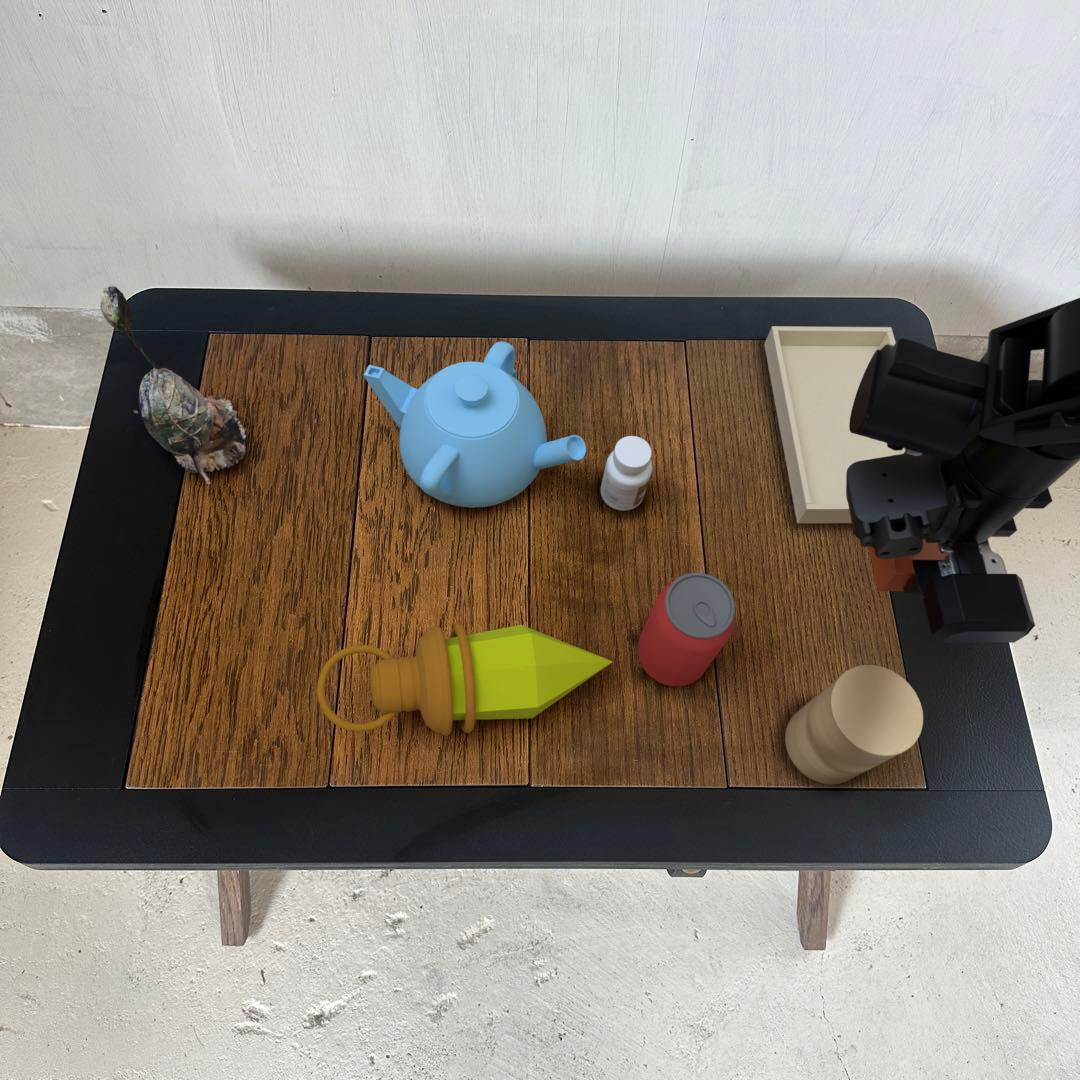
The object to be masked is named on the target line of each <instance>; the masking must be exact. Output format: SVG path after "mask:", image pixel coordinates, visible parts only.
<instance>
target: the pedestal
mask: <svg viewBox="0 0 1080 1080" xmlns="http://www.w3.org/2000/svg"><path fill="white" fill-rule="evenodd" d="M923 711H924V710H923V707H922V704H921V701H920V698H919V697H918V695H917V692H916V691H915V690H914V688H913V687H912V686H911V684H910V683H909V682H908V681H907V680H906V679H905V678H904V677H902V676H901V675H900V674H898V673H897V672H895V671H894V670H892V669H889V668H887V667H883V666H880V665H876V664H862V665H857V666H854V667H851V668H849V669H847V670H846V671H845V672H843V673H842V674H840V675H839V676H838V677H837V678H836V679H835V680H833V681H832V682H831V683H829V685H827V686H826V687H825V688H824V689H823V690H822V691H820V692H819V693H818V694H817V695H815V696H814V697H813V698H812V699H811V700H809V701H807V703H806V704H804V705H803V706H802V707H801V708H800V709H798V710H797V711H796V712H795V713H794V714H793V715H792V716H791V718H790V719H789V721H788V723H787V726H786V728H785V735H784V738H785V739H784V740H785V741H784V743H785V748H786V751H787V754H788V757H789V759H790V760H791V762H792V764H793V765H794V766H795V767H796V769H797V770H798V771H799V772H800V773H801V774H802V775H804V776H805V777H807V778H808V779H810V780H812V781H814V782H816V783H819V784H823V785H839V784H843V783H846V782H847V781H850V780H852V779H854V778H855V777H858V776H860V775H861V774H864V773H865V772H867V771H870V770H871V769H873V768H875V767H877V766H879V765H881V764H883V763H885V762H887V761H889V760H891V759H893V758H894V757H897V756H899V755H900V754H902V753H905V752H906V751H908V750H909V749H911V748H912V747H913V746H914V745H915V744H916V742H918V739H919V738H920V736H921V734H922V730H923V726H924V712H923Z"/></svg>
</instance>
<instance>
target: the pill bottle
mask: <svg viewBox="0 0 1080 1080" xmlns="http://www.w3.org/2000/svg"><path fill="white" fill-rule="evenodd" d="M651 458H652V448H651V445H650V444H649V443H648V441H646V440H645V439H644V438H642V437H639V436H637V435H628V436H627V435H626V436H623V437H622V438H620V439H619V440H617V442H616V444H615V446H614V449H613V450H612V452H610V453H609V455H608V457H607V459H606V462H605V466H604V471H603V476H602V479H601V484H600V496H601V497H602V501H604V503H605V504H606V505H607V506H609V507H610V508H612V509H613V510H616V511H621V512H623V511H624V512H625V511H631V510H633V509H636V508H637V507H638V506H640V504H641V503H642V502H643V501H644V498H645V495H646V492H647V489H648V486H649V482H650V479H651V476H652V474H653V473H652V472H653V463H652V460H651Z"/></svg>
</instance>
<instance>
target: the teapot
mask: <svg viewBox="0 0 1080 1080" xmlns="http://www.w3.org/2000/svg"><path fill="white" fill-rule="evenodd" d="M515 362H516V349H515V347H514V345H512V344H511V343H509V342H507V341H502V340H501V341H496V342H495V343H494V344H493V345H492V346H491V348H490V349H489V351H488V352H487V354H486V356H485V358H484V360H483V362H481V361H462V362H458V363H454V364H452V365H448V366H446V367H444V368H442V369H440V370H439V371H437V372H436V373H435V374H433V375H432V376H431V377H429V378H428V379H427V380H426V381H424V383H422V385H421V386H420V387H419V388H416V387H414V386H412V385H410V384H408V383H406V382H405V381H403V380H402V379H400V378H398V377H397V376H395V375H394V374H392V373H390V372H388V371H387V370H386V369H385V368H384V367H380V366H377V365H372V364H368V366H367V367H366V369H365V371H364V373H363V378H364V379H365V380H366V382H367V384H369V386H370V387H371V389H372V391H373V392H374V394H375V395H376V396H377V397H378V399H379V400H380V402H381V403H382V405H383V407H384V408H385V409H386V411H387V412H388V414H389V416H390V418H392V419H393V421H394V423H395V424H396V426H397V427H398V428H400V431H399V436H398V437H399V438H398V439H399V444H398V445H399V453H400V458H401V461H402V465H403V466H404V469H405V471H406V473H407V474H408V476H409V477H410V479H411V480H412V481H413V482H414V483H415V484H416V485H417V487H419V488H420V489H421V490H422V491H423V493H425V494H426V495H429V496H431V497H432V498H433V499H436V500H439V501H440V502H443V503H445V504H449V505H452V506H454V507H455V506H456V507H460V508H485V507H492V506H495V505H500V504H502V503H504V502H506V501H507V502H508V501H509V500H511V499H512V498H515V497H516V496H518V495H519V494H521V493H522V492H523V491H524V490H526V488H528V487H529V485H530V484H531V483H532V482H533V481H534V480H535V478H536V477H537V476H538V474H539V472H540V471H541V470H544V469H547V468H552V467H556V466H560V465H564V464H568V463H572V462H576V461H581V460H583V458H584V457H585V455H586V453H587V446H586V442H585V441H584V439H583V438H582V437H581V436H579V435H578V434H571V435H569V436H564V437H561V438H557V439H555V440H551V441H548V435H547V428H546V423H545V420H544V417H543V414H542V411H541V409H540V407H539V404H538V403H537V401H536V400H535V398H534V396H533V394H532V393H531V392H530V391H529V389H528V388H527V387H526V386H524V385H523V384H522V383H521V382H520V381H519V380H518V379H517V378H518V372H517V371H516V369H515Z"/></svg>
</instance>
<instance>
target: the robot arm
mask: <svg viewBox="0 0 1080 1080" xmlns="http://www.w3.org/2000/svg"><path fill="white" fill-rule="evenodd" d="M895 342H896V343H895V345H894V346H893V345H890V344H886V345H885V346H884V347H883V348H882V349H881V350H878V349H877V350H876V352H875V353H874V355H873V357H872V358H871V360H870V362H869V364H868V366H867V368H866V370H865V373H864V375H863V377H862V380H861V382H860V385H859V388H858V390H857V393H856V396H855V400H854V403H853V407H852V411H851V416H850V423H849V428H850V432H851V433H854V434H857V435H861V436H864V437H868V438H871V439H875V440H878V441H882V442H885V443H887V446H888V448H890V449H892V450H902V449H903V448H905V452H904V453H903V454H899V455H893V456H887V457H881V458H875V459H868V460H862V461H857V462H855V463H853V464H851V465H850V466H849V468H848V469H847V474H846V497H847V502H848V506H849V511H850V516H851V521H852V523H851V526H852V532H853V534H854V536H855V537H856V538H857V539H858V540H859V543H860V546H861V547H863V548H869V547H872V548H874V550H875V554H876V557H877V558H880V559H890V558H897V557H905V556H912V555H916V554H918V553H920V552H921V551H922V548H923V539H925V541H926V543H938V547H939V551H940V552H941V553H942V554H948V555H947V556H946V557H945V560H912V564H913V568H914V572H915V574H914V575H913V576H912V577H911V578H910V579H909V580H908V581H907V583H906V584H905V586H904V587H903V590H904V591H903V593H904V594H918V593H919V594H920V595H921V596H922V597H923V598H922V599H923V605H924V608H925V612H926V613H925V614H926V618H927V622H928V625H929V630H930V635H931V636H932V637H933V638H934V639H936V640H937V641H939V642H940V643H942V644H948V643H949V644H954V643H955V644H956V643H957V644H961V643H962V644H967V643H968V644H969V643H970V644H971V643H972V644H983V643H984V644H985V643H987V644H992V643H993V644H998V643H1001V644H1004V643H1005V644H1006V643H1009V644H1015V643H1016V642H1018V641H1020V640H1021V639H1023V638H1024V637H1026V636H1027V635H1029V634H1030V632H1031V631H1032V630H1033V629H1034V627H1036V623H1035V620H1034V616H1033V613H1032V610H1031V606H1030V603H1029V599H1028V595H1027V593H1026V589H1025V586H1024V582H1023V579H1022V577H1020V576H1019V575H1018V574H1017V573H1008V571H1007V568H1006V564H1005V561H1004V559H1003V557H1002V556H1001V555H1000V554H999V553H998V552H995V551H993V550H992V548H991V545H990V542H989V539H990V538H1010V537H1011V536H1012V535H1014V534H1015V533H1016V532H1017V531H1018V528H1017V524H1016V521H1015V517H1016V516H1017V515H1018V514H1019V513H1020V512H1022V511H1023V510H1024V509H1031V510H1032V509H1035V510H1036V509H1037V510H1038V509H1039V510H1040V509H1041V510H1043V509H1045V508H1046V507H1048V505H1050V504H1051V503H1053V498H1052V495H1051V493H1050V489H1049V487H1051V486H1052V485H1053V484H1054V483H1056V482H1057V481H1058V480H1059V479H1060V478H1061V477H1063V476H1064V475H1065V474H1066V473H1067V472H1068V471H1069V470H1070V469H1071V468H1073V467H1074V466H1075V465H1077V463H1079V462H1080V297H1078V298H1075V299H1072V300H1069V301H1067V302H1064V303H1061V304H1058V305H1055V306H1052V307H1050V308H1047V309H1045V310H1042V311H1039V312H1037V313H1034V314H1031V315H1029V316H1025V317H1023V318H1019V319H1018V320H1014V321H1011V322H1009V323H1007V324H1003V325H1001V326H997V327H995V328H992V329H991V330H990V331H989V333H988V340H987V348H986V349H987V350H986V352H985V353H984V354H983V355H982V357H981V358H980V360H979V361H978V360H975V359H972V358H967V357H965V356H959V355H956V354H954V353H953V354H952V353H948V352H945V351H942V350H938V349H935V348H932V347H930V346H928V345H926V344H924V343H921V342H919V341H914V340H911V339H909V338H908V339H907V338H903V337H901V338H897V340H896V341H895ZM1041 350H1043V360H1042V375H1041V379H1030V370H1031V369H1030V368H1031V355H1032V352H1033V351H1041Z"/></svg>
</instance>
